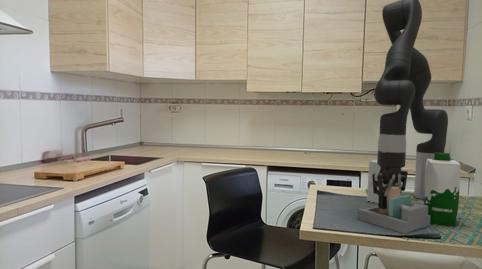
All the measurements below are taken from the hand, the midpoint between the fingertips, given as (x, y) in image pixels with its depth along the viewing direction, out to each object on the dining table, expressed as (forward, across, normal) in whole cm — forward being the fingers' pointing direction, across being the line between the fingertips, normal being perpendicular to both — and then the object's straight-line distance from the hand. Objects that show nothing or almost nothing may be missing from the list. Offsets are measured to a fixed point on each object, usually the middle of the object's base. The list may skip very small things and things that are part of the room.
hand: (388, 207), depth 104 cm
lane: (+4, 0, +1) cm, 4 cm away
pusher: (+3, 0, +4) cm, 6 cm away
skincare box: (+4, -18, -16) cm, 24 cm away
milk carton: (+4, -13, +8) cm, 16 cm away
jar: (+2, 0, 0) cm, 2 cm away
